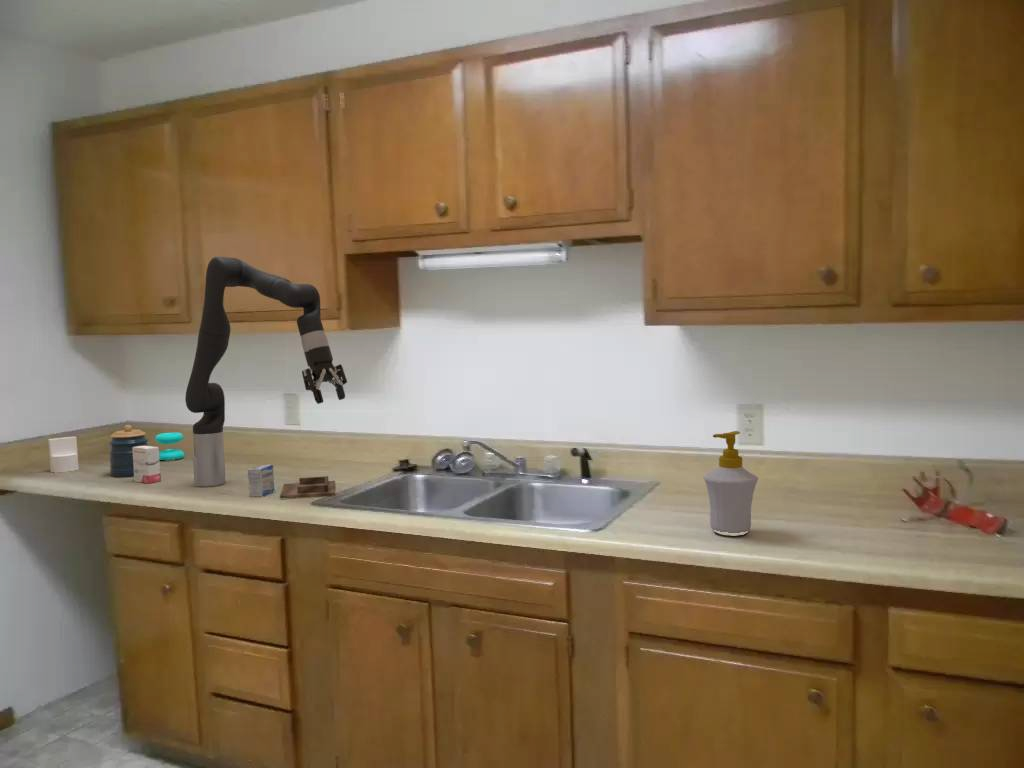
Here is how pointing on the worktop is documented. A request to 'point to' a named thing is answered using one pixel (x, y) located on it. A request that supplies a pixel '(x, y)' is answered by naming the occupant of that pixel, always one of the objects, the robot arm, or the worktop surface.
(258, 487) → the medicine box
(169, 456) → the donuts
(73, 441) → the base with upright slab
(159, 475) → the ink box
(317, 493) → the holder board
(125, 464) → the canister
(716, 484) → the soap bottle
